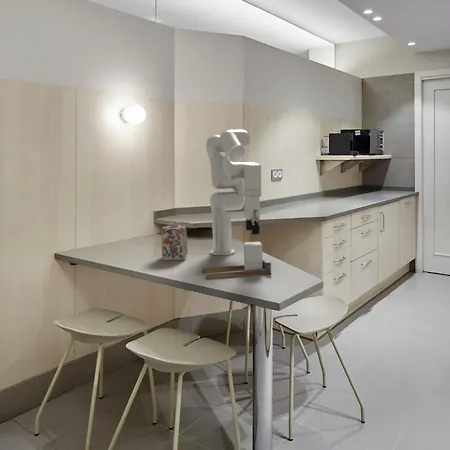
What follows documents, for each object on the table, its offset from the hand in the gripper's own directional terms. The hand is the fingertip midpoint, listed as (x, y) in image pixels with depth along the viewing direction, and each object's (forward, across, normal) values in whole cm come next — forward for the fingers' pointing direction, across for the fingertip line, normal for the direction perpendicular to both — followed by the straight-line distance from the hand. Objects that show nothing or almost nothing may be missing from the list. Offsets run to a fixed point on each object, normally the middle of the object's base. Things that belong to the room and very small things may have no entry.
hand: (252, 232), depth 216 cm
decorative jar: (+19, -37, -30) cm, 51 cm away
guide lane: (+17, +1, -9) cm, 20 cm away
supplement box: (+18, +1, 0) cm, 18 cm away
